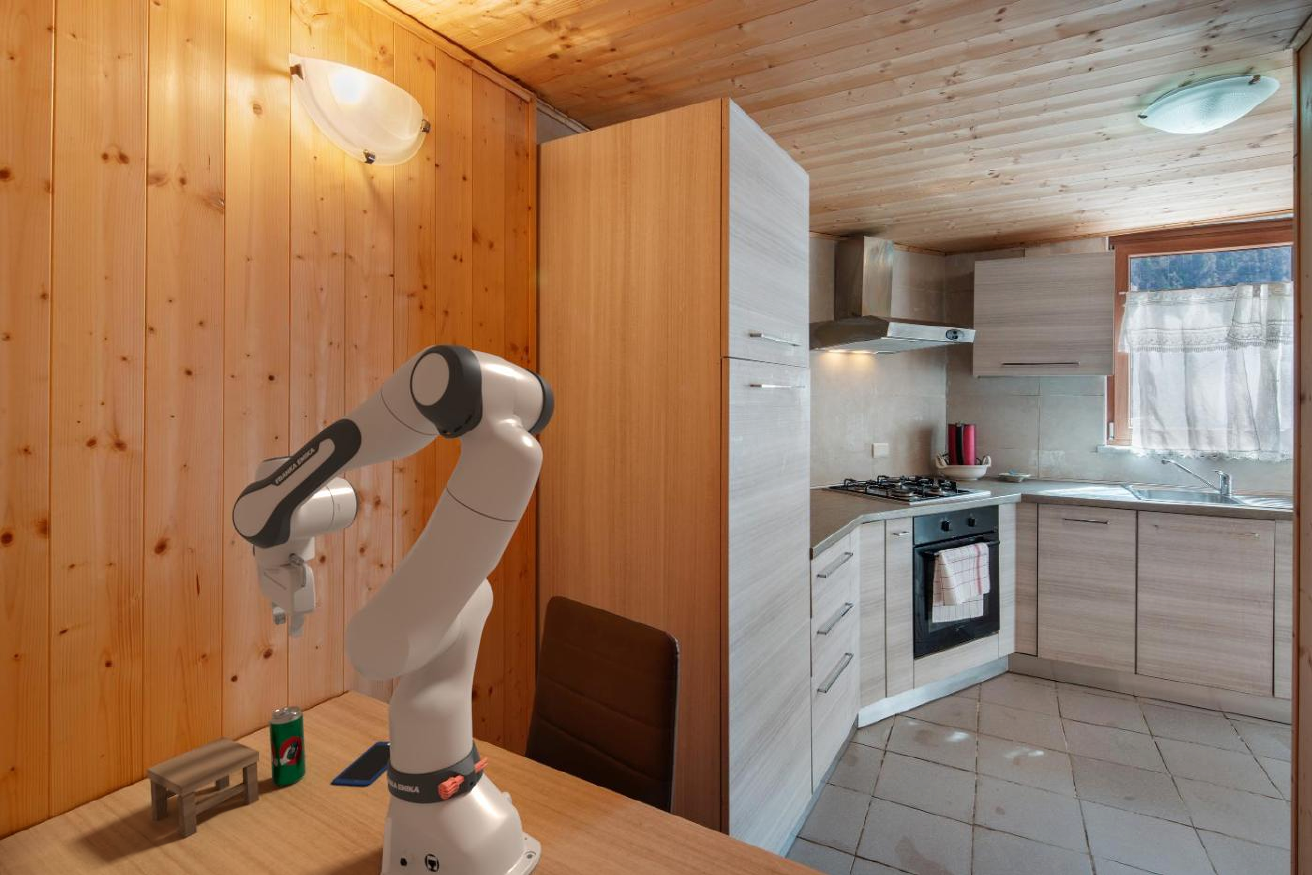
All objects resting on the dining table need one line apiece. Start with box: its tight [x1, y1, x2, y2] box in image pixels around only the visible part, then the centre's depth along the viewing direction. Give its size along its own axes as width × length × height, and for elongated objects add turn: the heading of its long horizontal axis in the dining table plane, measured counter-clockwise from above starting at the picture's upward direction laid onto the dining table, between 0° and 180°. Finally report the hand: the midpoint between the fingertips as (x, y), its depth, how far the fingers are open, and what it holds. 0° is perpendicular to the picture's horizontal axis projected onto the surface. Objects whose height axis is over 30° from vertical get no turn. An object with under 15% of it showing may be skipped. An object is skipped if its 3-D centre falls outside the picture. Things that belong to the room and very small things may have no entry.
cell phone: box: [331, 741, 390, 788], centre depth 112 cm, size 7×14×1 cm, turn 171°
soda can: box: [268, 705, 307, 787], centre depth 107 cm, size 5×5×12 cm
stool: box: [146, 736, 260, 839], centre depth 100 cm, size 11×11×8 cm
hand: (287, 629), depth 106 cm, fingers open, 8 cm apart
